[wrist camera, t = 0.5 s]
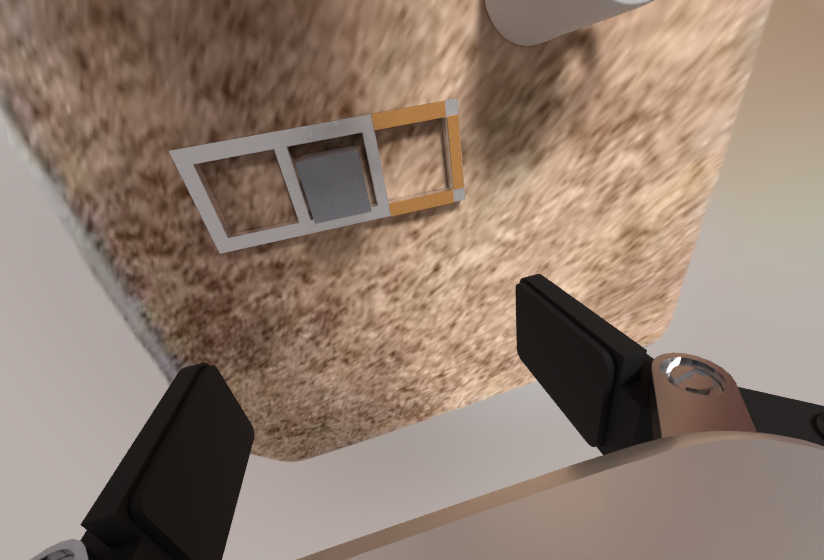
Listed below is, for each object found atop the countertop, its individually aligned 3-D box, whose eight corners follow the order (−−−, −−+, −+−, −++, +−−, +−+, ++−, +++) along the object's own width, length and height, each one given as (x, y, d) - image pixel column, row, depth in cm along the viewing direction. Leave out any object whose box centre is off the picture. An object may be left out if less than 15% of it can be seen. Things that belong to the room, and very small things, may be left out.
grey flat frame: (175, 149, 25) (167, 151, 24) (452, 99, 28) (458, 98, 26) (223, 248, 29) (219, 254, 28) (460, 196, 32) (465, 199, 30)
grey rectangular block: (302, 154, 27) (295, 163, 22) (353, 144, 28) (358, 151, 22) (318, 205, 29) (315, 223, 24) (365, 195, 30) (371, 211, 24)
